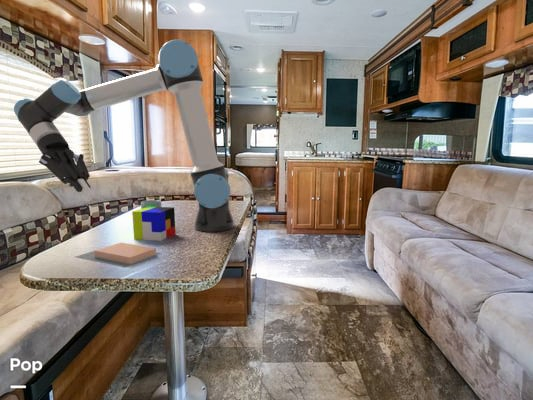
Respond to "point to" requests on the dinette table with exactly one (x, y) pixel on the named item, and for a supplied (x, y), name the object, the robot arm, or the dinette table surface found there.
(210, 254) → the dinette table surface
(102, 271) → the dinette table surface
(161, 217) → the puzzle toy
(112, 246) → the tile
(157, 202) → the cup
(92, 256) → the mat
